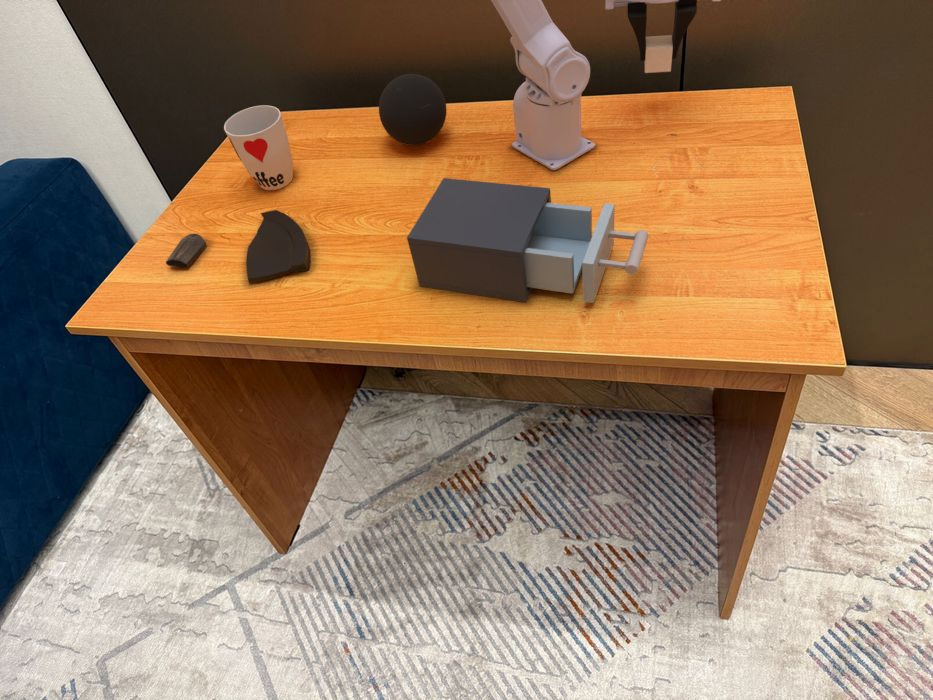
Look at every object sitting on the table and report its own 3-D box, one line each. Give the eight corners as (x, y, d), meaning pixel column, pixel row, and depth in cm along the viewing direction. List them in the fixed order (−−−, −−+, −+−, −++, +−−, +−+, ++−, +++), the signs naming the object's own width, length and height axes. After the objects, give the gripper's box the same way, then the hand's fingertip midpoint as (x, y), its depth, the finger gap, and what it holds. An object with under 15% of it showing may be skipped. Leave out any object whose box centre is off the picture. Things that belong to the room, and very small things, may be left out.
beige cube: (644, 73, 97) (646, 48, 94) (644, 61, 99) (645, 36, 96) (670, 71, 96) (672, 46, 93) (669, 59, 98) (671, 34, 96)
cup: (240, 193, 104) (212, 133, 96) (269, 162, 109) (245, 103, 101) (284, 199, 101) (260, 138, 94) (312, 167, 106) (291, 107, 98)
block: (168, 270, 94) (162, 260, 92) (187, 241, 98) (181, 231, 96) (192, 270, 93) (186, 260, 92) (210, 241, 97) (205, 230, 95)
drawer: (650, 247, 82) (653, 207, 77) (632, 309, 76) (634, 269, 71) (514, 231, 87) (510, 193, 83) (487, 287, 81) (481, 249, 77)
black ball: (402, 120, 111) (388, 60, 104) (460, 124, 108) (450, 62, 101) (376, 156, 105) (360, 94, 98) (437, 161, 102) (424, 97, 95)
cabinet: (553, 238, 87) (550, 187, 81) (526, 302, 80) (520, 252, 74) (453, 226, 91) (443, 177, 86) (419, 286, 84) (406, 237, 79)
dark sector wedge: (310, 210, 98) (306, 201, 97) (310, 272, 89) (306, 263, 88) (252, 223, 98) (248, 213, 97) (247, 286, 89) (242, 276, 88)
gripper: (724, -68, 87) (711, 39, 97) (606, -57, 90) (605, 46, 100) (729, -47, 83) (715, 63, 93) (605, -36, 86) (604, 70, 96)
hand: (658, 56), depth 96 cm, fingers closed on beige cube, 3 cm apart
